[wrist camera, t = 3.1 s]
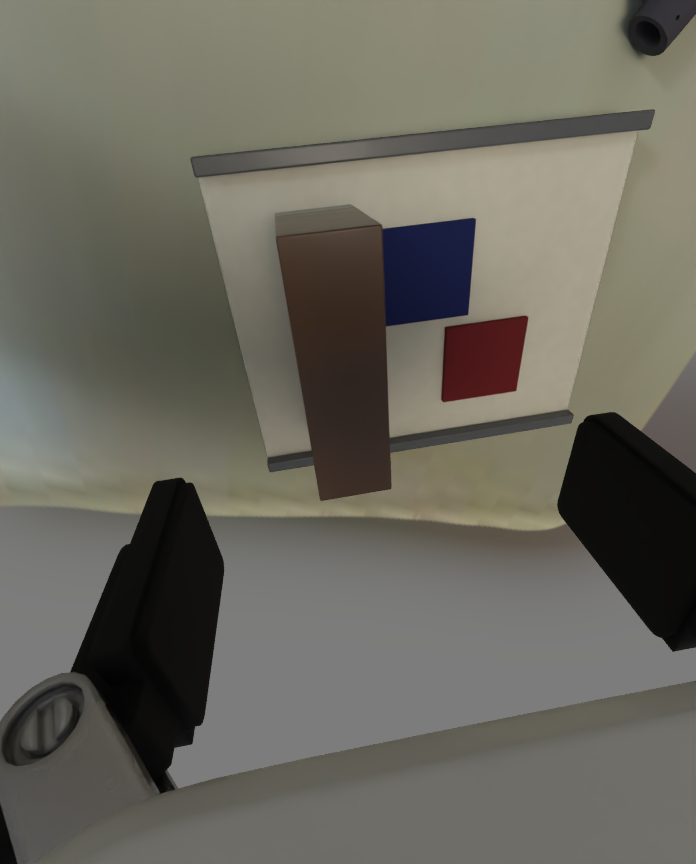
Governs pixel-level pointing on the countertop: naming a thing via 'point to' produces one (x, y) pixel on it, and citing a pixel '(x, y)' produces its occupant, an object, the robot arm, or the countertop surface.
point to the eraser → (339, 342)
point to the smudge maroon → (482, 358)
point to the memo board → (419, 204)
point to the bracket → (659, 24)
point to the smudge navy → (428, 270)
